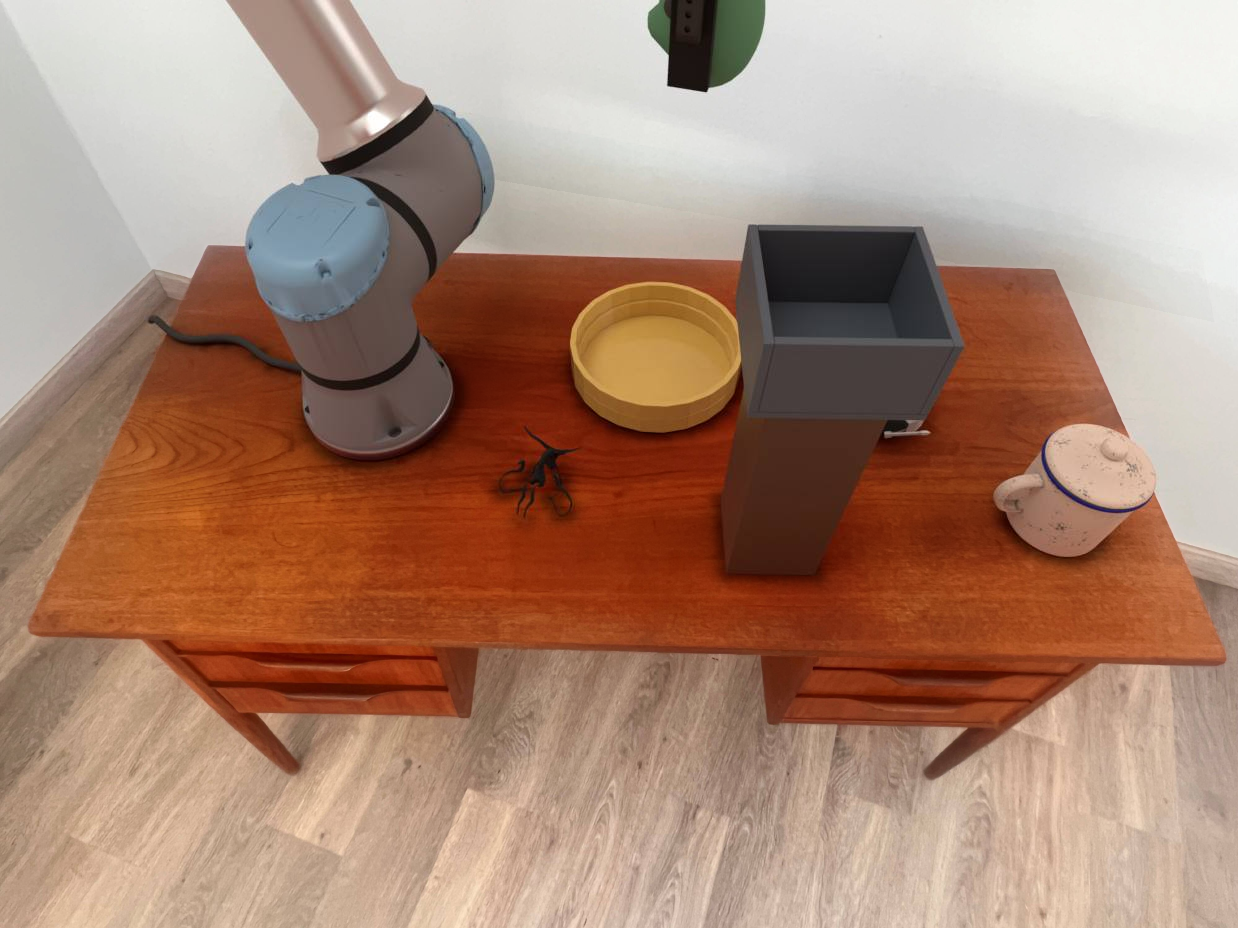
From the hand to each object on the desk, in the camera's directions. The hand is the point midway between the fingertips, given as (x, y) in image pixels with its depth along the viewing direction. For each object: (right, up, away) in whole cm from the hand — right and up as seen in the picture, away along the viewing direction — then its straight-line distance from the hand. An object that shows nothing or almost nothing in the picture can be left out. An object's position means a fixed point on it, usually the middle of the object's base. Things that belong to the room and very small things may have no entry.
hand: (702, 58), depth 51 cm
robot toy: (+19, -21, +28) cm, 40 cm away
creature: (-14, -31, +21) cm, 40 cm away
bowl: (-2, -17, +31) cm, 35 cm away
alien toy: (0, -1, +1) cm, 2 cm away
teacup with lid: (+34, -33, +20) cm, 51 cm away
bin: (+8, -35, +18) cm, 40 cm away
